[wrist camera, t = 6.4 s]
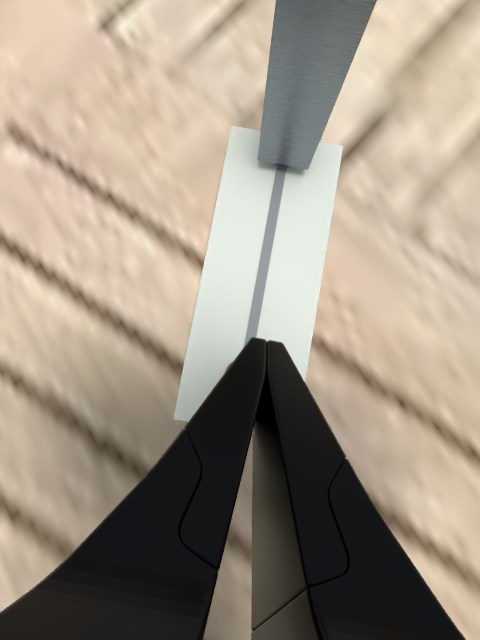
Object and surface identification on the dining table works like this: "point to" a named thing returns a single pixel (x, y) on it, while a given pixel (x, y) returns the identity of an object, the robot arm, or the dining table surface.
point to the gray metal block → (307, 74)
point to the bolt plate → (259, 263)
